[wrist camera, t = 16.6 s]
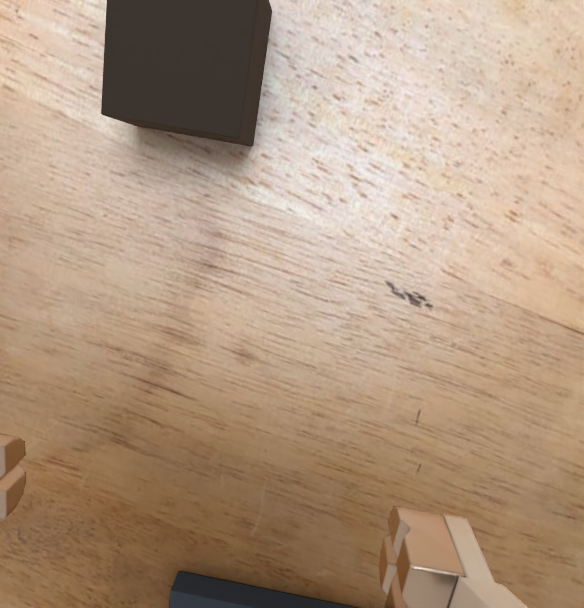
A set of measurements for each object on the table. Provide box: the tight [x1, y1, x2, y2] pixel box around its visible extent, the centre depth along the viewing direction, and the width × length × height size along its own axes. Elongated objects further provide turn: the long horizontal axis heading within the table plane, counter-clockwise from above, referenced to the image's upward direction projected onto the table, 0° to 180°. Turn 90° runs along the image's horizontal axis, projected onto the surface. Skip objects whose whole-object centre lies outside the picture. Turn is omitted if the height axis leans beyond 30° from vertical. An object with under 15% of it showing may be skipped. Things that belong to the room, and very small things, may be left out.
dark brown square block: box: [101, 0, 272, 146], centre depth 19 cm, size 6×6×4 cm
